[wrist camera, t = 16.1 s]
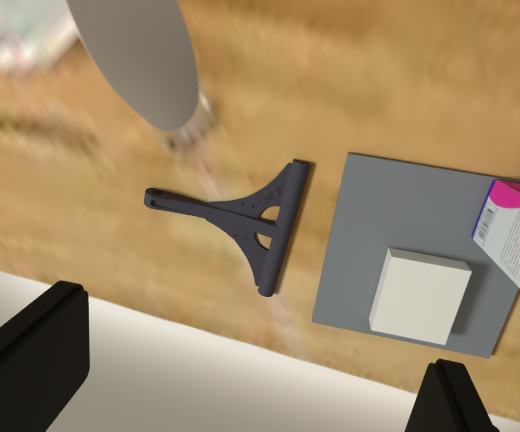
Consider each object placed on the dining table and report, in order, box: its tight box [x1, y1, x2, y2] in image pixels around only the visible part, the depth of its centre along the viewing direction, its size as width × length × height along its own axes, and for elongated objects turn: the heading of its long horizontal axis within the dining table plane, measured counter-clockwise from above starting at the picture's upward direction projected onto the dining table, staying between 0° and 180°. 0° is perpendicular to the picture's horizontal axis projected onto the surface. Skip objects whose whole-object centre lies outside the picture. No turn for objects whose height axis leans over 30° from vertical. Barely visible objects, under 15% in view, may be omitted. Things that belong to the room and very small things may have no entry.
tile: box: [369, 248, 472, 345], centre depth 38 cm, size 2×7×8 cm
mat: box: [312, 152, 520, 358], centre depth 39 cm, size 18×18×1 cm
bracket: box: [144, 159, 310, 297], centre depth 40 cm, size 14×15×3 cm
